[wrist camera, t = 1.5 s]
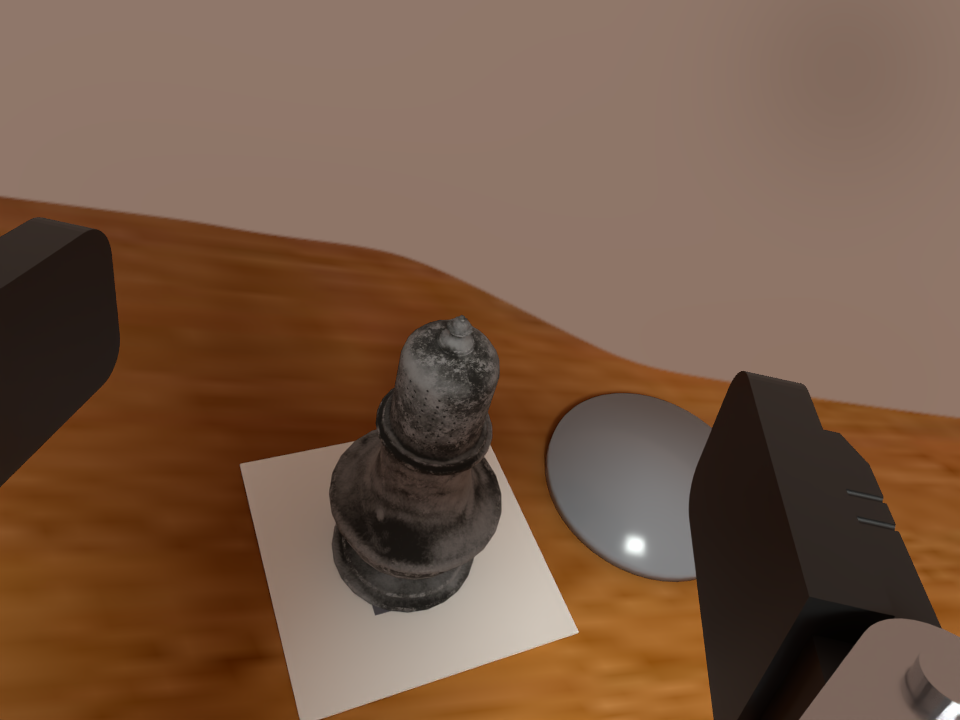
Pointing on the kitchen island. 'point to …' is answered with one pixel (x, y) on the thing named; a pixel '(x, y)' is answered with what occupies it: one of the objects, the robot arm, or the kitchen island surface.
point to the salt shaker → (421, 475)
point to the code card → (375, 631)
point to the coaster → (628, 481)
